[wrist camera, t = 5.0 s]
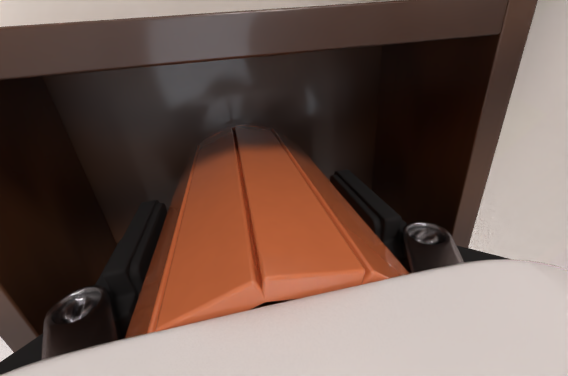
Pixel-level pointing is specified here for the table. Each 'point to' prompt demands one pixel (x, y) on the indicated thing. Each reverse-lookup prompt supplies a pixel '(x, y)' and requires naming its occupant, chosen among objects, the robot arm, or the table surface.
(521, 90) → the table surface
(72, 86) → the chest
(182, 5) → the table surface
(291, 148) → the cup
